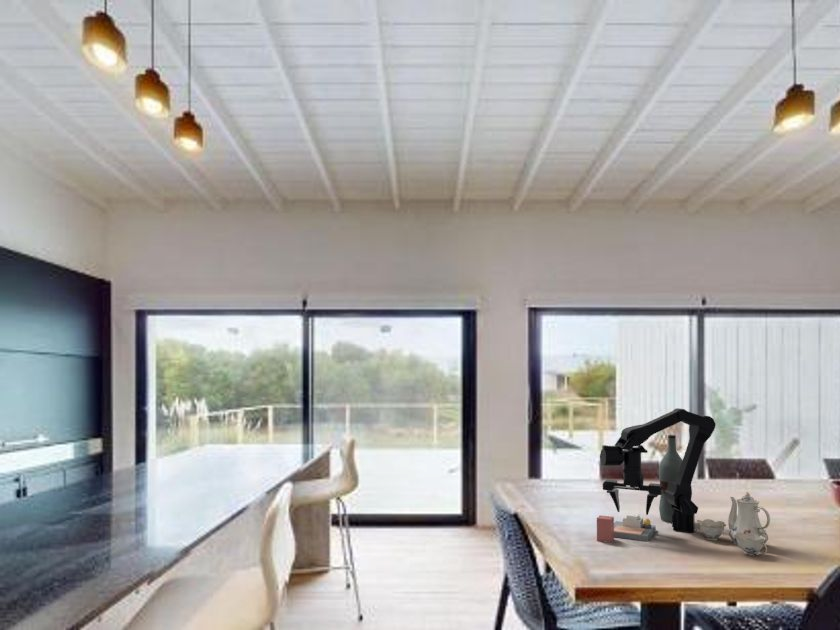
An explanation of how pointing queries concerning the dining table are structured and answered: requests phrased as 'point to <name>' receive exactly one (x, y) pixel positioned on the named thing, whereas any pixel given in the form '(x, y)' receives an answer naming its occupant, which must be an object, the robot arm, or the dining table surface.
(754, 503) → the chinaware
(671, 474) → the bottle
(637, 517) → the block
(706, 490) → the dining table surface
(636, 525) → the panel
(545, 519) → the dining table surface
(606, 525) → the red rectangular block
